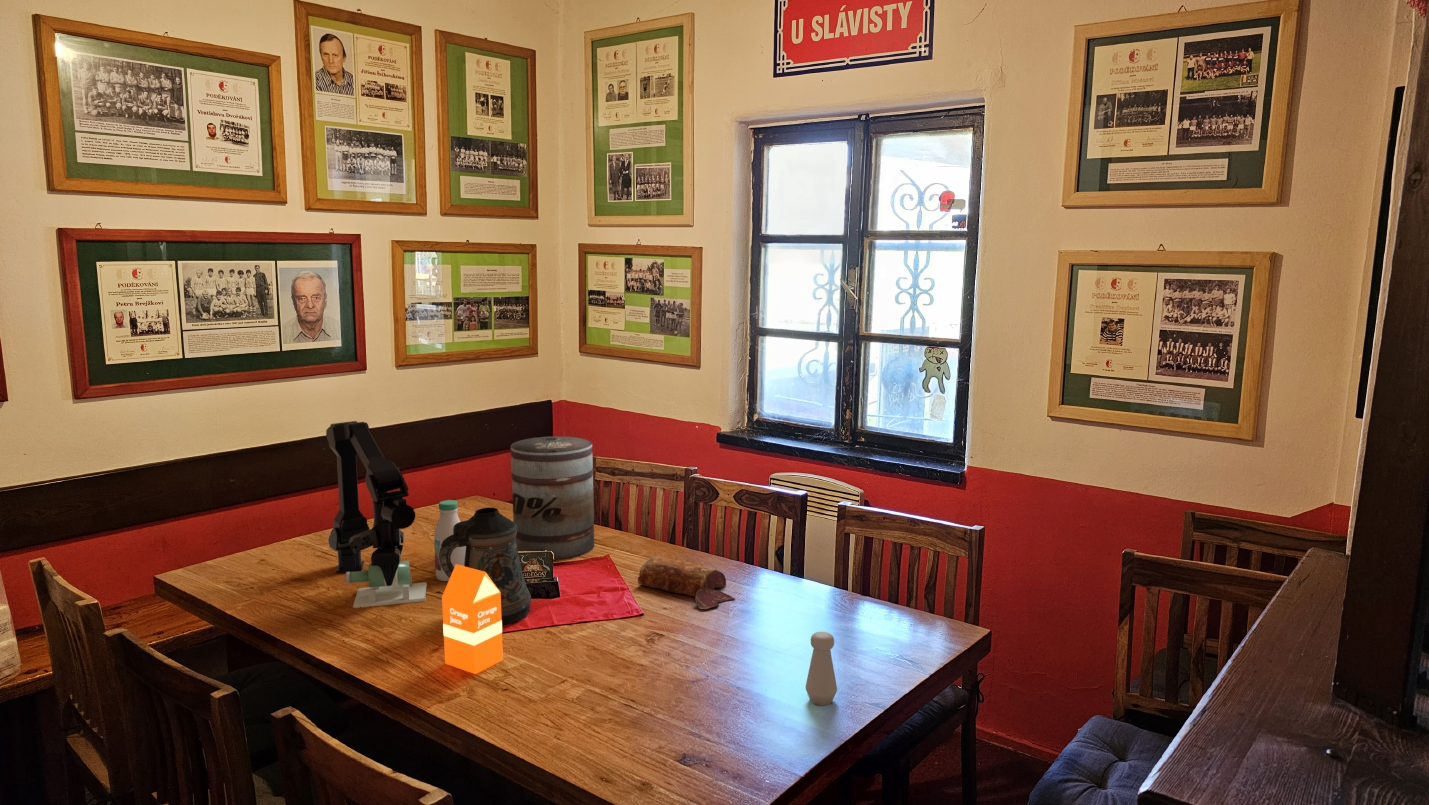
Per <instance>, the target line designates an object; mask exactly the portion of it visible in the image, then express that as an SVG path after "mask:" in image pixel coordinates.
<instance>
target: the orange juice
mask: <svg viewBox="0 0 1429 805" xmlns="http://www.w3.org/2000/svg"><path fill="white" fill-rule="evenodd" d="M500 593H501V592H500V591H499V590H498V588H497V587H496V586H495V584H494V583H493V582H492V580H491V579H490V578H489V576H488V575H487V573H486V572H484V571H480V570H476V569H472V568H468V567H465V566H461V565H457V564H456V565H455V568H454V570H453V572H452V575H451V577H450V579H449V581H447V584H446V587H445V589H444V592H443V594H442V595H441V603H442V607H441V608H442V622H443V623H442V629H443V630H442V631H443V644H444V646H443V649H444V662H445V665H449V666H451V667H454V668H456V669H460V670H463V671H465V672H468V673H471V674H474V675H477V674H478V673H481V672H483V671H484V670H487V669H488V668H490V667H492V666H495V665H496V664H497V663H500V662H502V661H503V660H504V653H503V651H504V650H503V648H504V647H503V626H502V620H501V594H500Z"/></svg>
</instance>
